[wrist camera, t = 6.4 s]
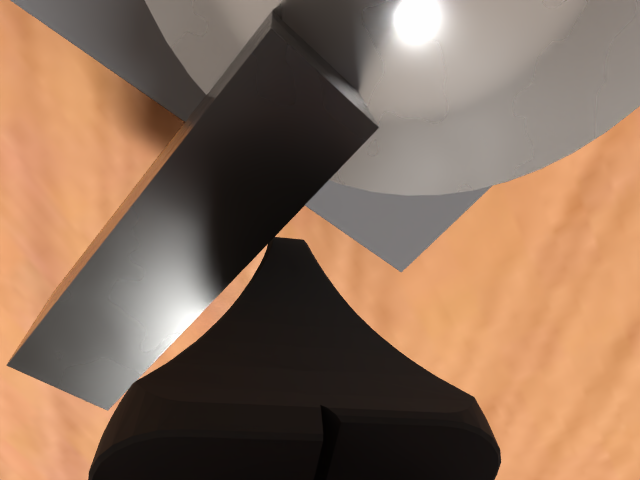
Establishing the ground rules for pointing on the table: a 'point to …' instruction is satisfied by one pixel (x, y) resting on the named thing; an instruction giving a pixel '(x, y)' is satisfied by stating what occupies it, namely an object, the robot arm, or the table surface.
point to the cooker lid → (323, 145)
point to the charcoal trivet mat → (185, 95)
